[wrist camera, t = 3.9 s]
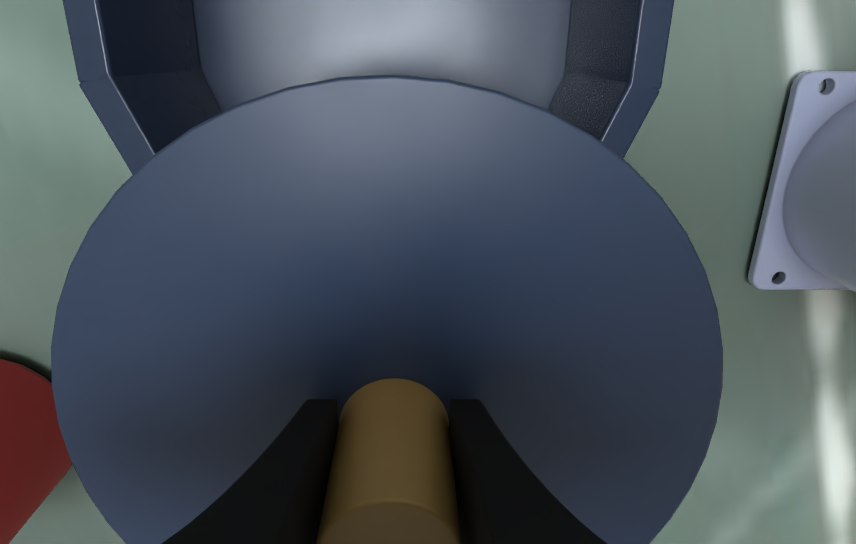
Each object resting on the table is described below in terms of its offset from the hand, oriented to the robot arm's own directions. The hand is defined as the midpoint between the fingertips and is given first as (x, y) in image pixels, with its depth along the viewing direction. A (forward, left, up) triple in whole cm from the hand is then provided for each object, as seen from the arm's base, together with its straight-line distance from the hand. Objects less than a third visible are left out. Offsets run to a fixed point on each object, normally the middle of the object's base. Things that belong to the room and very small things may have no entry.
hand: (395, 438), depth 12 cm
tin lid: (0, 0, -1) cm, 1 cm away
